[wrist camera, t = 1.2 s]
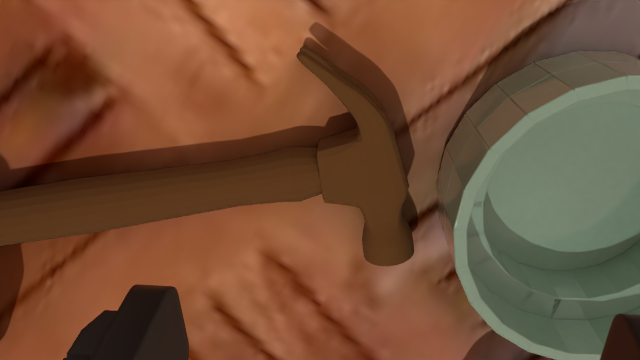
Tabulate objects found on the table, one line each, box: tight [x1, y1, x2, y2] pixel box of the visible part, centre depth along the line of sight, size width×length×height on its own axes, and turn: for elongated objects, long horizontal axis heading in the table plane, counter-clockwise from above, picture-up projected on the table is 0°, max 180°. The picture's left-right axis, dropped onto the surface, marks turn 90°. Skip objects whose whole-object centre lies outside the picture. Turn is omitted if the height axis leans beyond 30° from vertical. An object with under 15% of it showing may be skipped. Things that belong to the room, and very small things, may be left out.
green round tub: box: [437, 51, 640, 360], centre depth 28 cm, size 14×14×6 cm
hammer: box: [0, 46, 414, 266], centre depth 31 cm, size 12×3×30 cm
